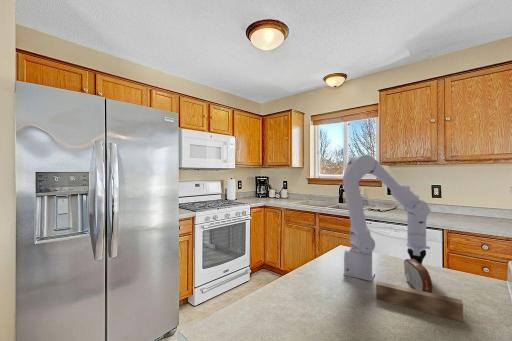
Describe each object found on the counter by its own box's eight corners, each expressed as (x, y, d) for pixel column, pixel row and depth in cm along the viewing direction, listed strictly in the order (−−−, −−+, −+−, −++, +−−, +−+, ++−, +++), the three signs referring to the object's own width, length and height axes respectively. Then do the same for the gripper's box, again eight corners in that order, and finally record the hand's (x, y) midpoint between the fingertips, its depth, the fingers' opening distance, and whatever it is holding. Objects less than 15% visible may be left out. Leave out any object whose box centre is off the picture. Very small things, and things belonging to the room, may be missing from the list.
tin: (433, 300, 73) (433, 272, 73) (421, 299, 73) (421, 271, 73) (412, 279, 87) (412, 255, 87) (402, 278, 88) (402, 254, 88)
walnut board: (376, 299, 73) (376, 284, 73) (377, 295, 75) (377, 281, 75) (463, 321, 62) (463, 304, 62) (461, 317, 64) (461, 299, 64)
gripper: (431, 238, 81) (431, 279, 81) (429, 230, 93) (429, 265, 93) (406, 235, 85) (406, 275, 85) (407, 227, 97) (407, 262, 97)
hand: (416, 270), depth 89 cm, fingers closed
